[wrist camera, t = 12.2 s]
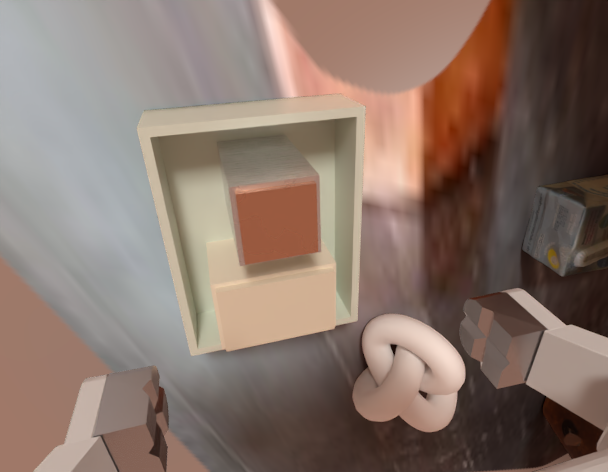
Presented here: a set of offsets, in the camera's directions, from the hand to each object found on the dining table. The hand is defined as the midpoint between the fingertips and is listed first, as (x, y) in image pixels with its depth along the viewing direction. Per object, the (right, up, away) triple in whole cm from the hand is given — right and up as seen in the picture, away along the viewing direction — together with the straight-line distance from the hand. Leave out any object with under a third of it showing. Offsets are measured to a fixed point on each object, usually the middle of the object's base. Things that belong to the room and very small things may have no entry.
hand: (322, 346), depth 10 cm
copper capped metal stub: (-4, +8, +20) cm, 22 cm away
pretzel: (+9, -8, +34) cm, 36 cm away
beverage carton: (+31, +6, +33) cm, 46 cm away
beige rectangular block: (-4, 0, +24) cm, 25 cm away
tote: (-4, +5, +23) cm, 23 cm away
